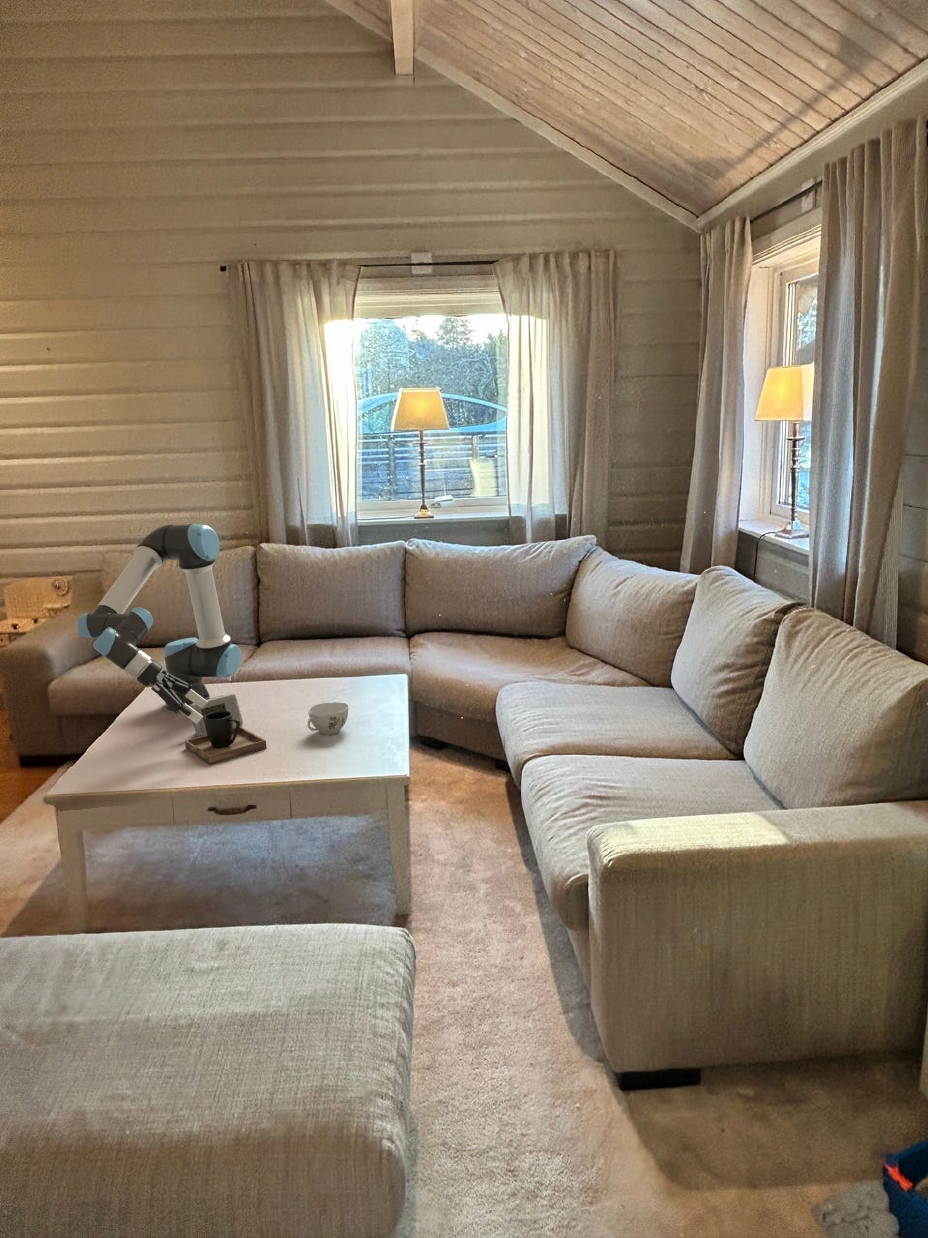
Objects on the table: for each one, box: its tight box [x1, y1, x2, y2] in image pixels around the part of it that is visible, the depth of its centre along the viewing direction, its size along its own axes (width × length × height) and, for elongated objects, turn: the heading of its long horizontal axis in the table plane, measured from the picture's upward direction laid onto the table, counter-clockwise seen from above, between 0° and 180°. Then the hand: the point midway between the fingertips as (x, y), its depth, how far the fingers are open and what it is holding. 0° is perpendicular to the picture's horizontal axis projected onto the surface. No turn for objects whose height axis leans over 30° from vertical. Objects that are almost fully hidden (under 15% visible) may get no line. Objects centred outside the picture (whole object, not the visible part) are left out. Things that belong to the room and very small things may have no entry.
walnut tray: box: [184, 726, 267, 766], centre depth 269 cm, size 18×18×2 cm
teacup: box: [307, 701, 349, 736], centre depth 278 cm, size 15×12×8 cm
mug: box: [204, 711, 240, 748], centre depth 268 cm, size 8×12×10 cm
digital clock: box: [190, 692, 244, 738], centre depth 285 cm, size 16×9×11 cm, turn 120°
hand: (202, 712), depth 265 cm, fingers open, 13 cm apart
